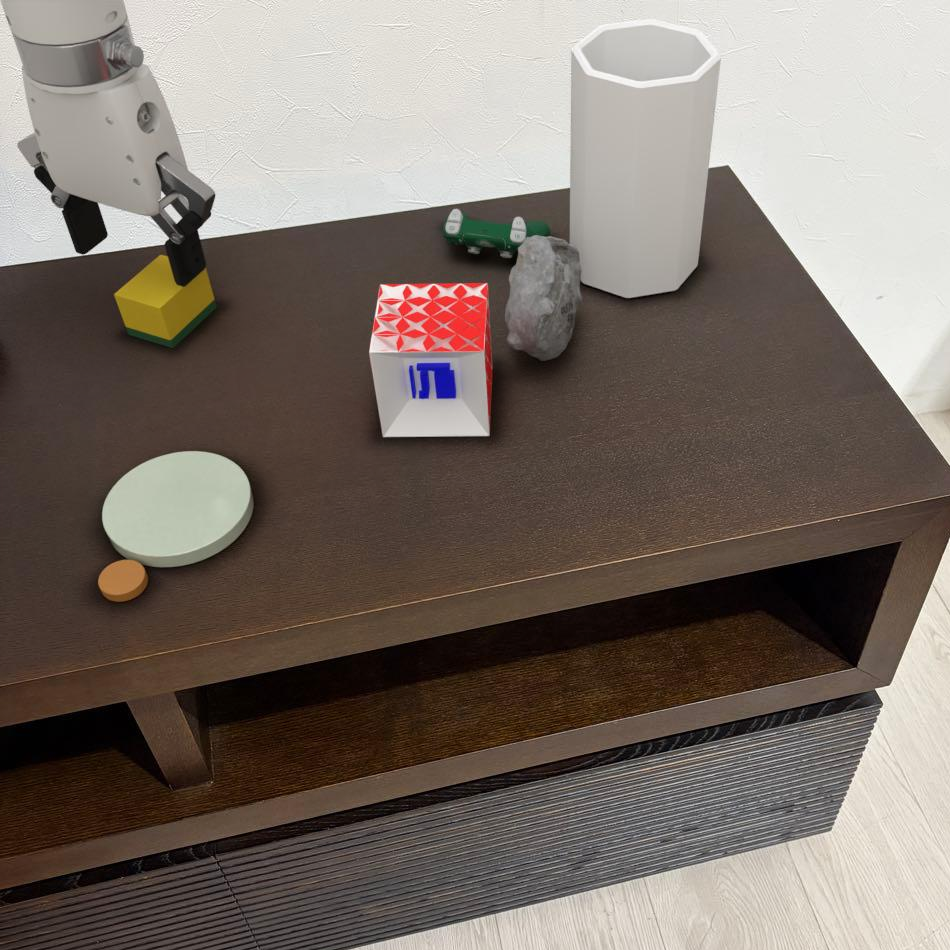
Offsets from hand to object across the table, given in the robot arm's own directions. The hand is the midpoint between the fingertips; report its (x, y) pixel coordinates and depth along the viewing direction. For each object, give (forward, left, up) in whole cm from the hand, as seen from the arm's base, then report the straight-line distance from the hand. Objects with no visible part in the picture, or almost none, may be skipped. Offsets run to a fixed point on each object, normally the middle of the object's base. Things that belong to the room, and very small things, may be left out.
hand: (141, 260), depth 88 cm
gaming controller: (+22, +19, -5) cm, 30 cm away
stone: (+32, +8, -5) cm, 33 cm away
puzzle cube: (+27, -1, -5) cm, 27 cm away
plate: (+16, -18, -5) cm, 25 cm away
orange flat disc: (+16, -25, -5) cm, 30 cm away
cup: (+34, +22, -5) cm, 41 cm away
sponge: (+2, -1, -5) cm, 5 cm away
